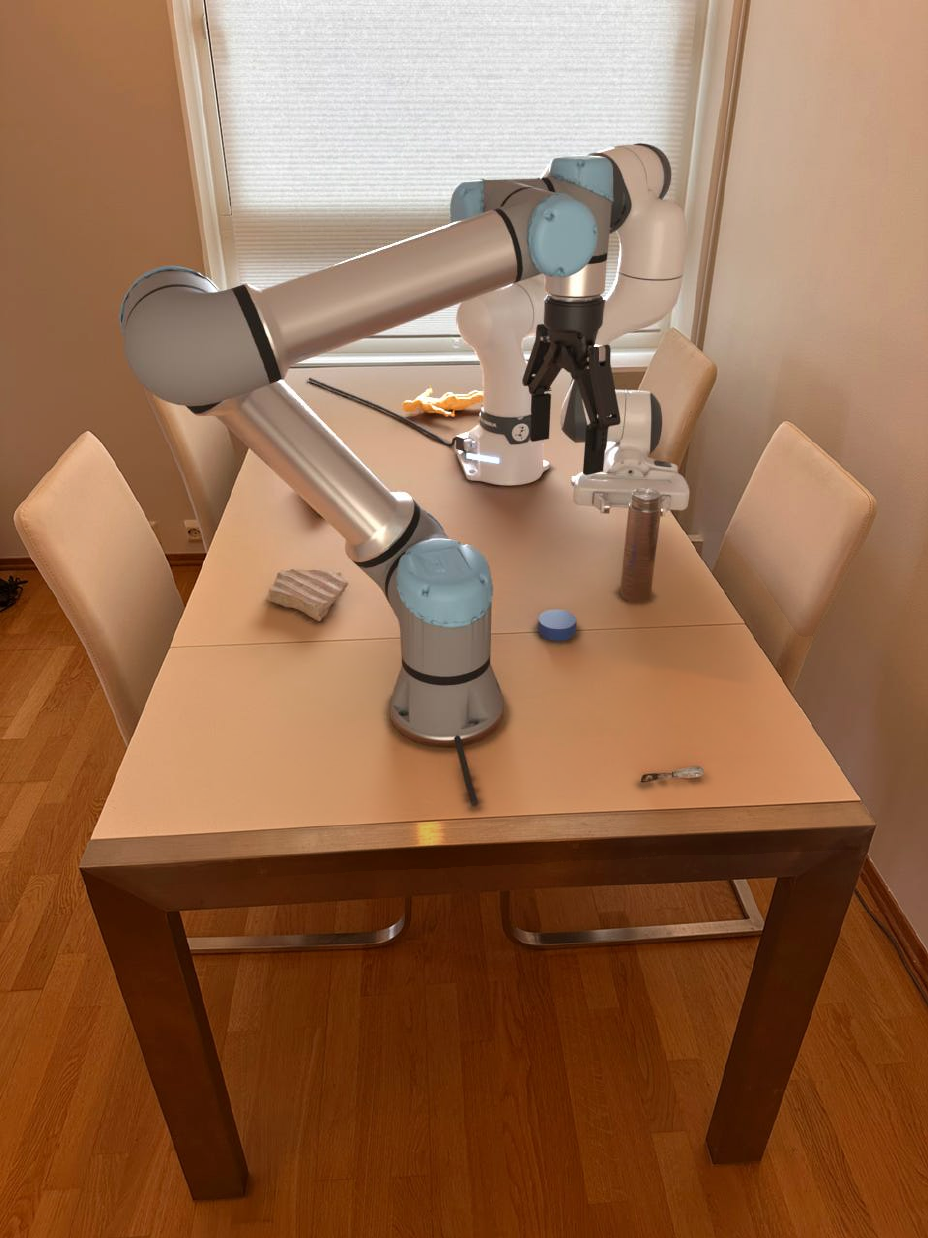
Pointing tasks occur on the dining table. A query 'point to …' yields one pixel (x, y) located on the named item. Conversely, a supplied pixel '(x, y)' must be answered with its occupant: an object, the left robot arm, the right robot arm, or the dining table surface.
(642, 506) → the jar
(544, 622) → the lid
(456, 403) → the human figure
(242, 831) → the dining table surface
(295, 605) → the stone
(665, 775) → the putty knife
